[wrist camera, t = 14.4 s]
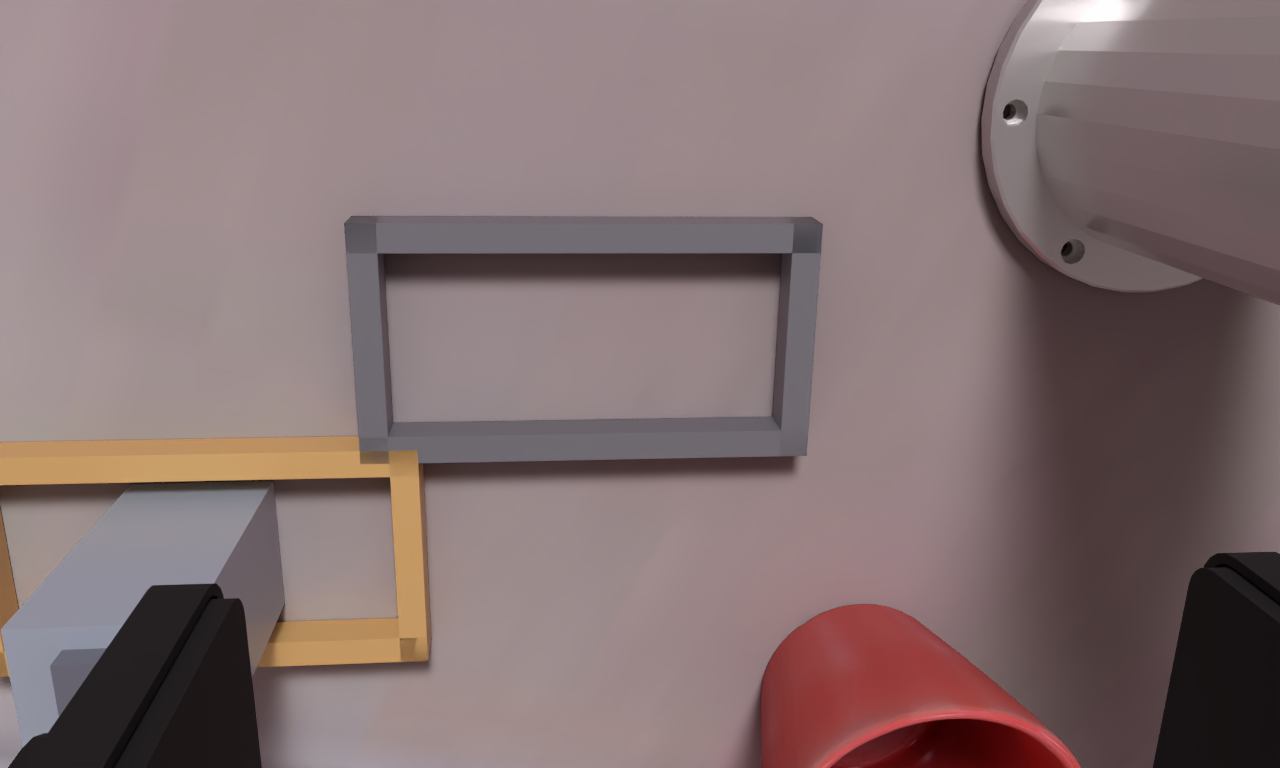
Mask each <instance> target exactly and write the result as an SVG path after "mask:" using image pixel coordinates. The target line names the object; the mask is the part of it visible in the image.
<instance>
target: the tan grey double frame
mask: <svg viewBox="0 0 1280 768" xmlns="http://www.w3.org/2000/svg"><path fill="white" fill-rule="evenodd" d="M344 227H345V241H346V256H347V271H348V286H349V301H350V316H351V331H352V346H353V361H354V376H355V391H356V406H357V421H358V435H359V436H345V437H287V438H228V439H170V440H112V441H53V442H0V485H34V484H82V483H130V482H178V481H226V480H274V479H322V478H370V477H390V483H391V500H392V517H393V534H394V552H395V569H396V586H397V603H398V618H383V619H354V620H324V621H294V622H276V624H275V627H274V629H273V631H272V634H271V636H270V638H269V641H268V643H267V645H266V647H265V650H264V652H263V654H262V657H261V659H260V661H259V664H258V666H257V667H278V666H305V665H332V664H358V663H385V662H412V661H428V657H429V651H430V645H431V620H430V599H429V578H428V557H427V536H426V515H425V494H424V473H423V463H464V462H514V461H565V460H616V459H667V458H718V457H769V456H806V455H807V441H808V427H809V412H810V398H811V384H812V370H813V356H814V342H815V327H816V313H817V299H818V285H819V271H820V256H821V242H822V228H823V224H822V223H820V222H819V221H817V220H815V219H814V218H812V217H534V216H351V217H350V218H349V219H348V220H347V221H346V222H345V223H344ZM384 253H782V262H781V279H780V296H779V313H778V330H777V347H776V364H775V380H774V397H773V414H772V417H723V418H661V419H598V420H535V421H472V422H410V423H393V412H392V394H391V376H390V359H389V341H388V323H387V305H386V287H385V270H384ZM18 610H19V609H18V603H17V598H16V592H15V586H14V581H13V575H12V570H11V564H10V559H9V553H8V548H7V542H6V537H5V531H4V526H3V520H2V514H1V509H0V677H10V676H9V671H8V666H7V660H6V655H5V650H4V645H3V639H2V634H1V629H2V627H3V626H4V625H5V624H6V623H7V622H8V621H9V620H10V618H11V617H12V616H13V615H14V614H15V613H16V612H17V611H18Z"/></svg>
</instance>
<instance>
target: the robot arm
mask: <svg viewBox="0 0 1280 768" xmlns="http://www.w3.org/2000/svg"><path fill="white" fill-rule="evenodd" d="M1007 104H1008V105H1009V106H1010V109H1011V112H1010V114H1009V116H1008V117H1007V118H1005V119H1004V118H1003V111H1004V108H1005V106H1006V105H1007ZM981 126H982V156H983V161H984V166H985V170H986V175H987V180H988V184H989V188H990V190H991V193H992V195H993V197H994V200H995V202H996V204H997V207H998V209H999V211H1000V213H1001V216H1002V217H1003V219H1004V220H1005V222H1006V223H1007V224H1008V226H1009V227H1010V229H1011V230H1012V232H1013V233H1014V234H1015V236H1016V237H1017V239H1018V240H1019V241H1020V242H1021V243H1022V244H1023V245H1024V246H1025V247H1026V248H1027V249H1028V250H1030V251H1031V252H1032V253H1033V254H1034V255H1035V256H1036V257H1037V258H1038V259H1039V260H1041V261H1042V262H1043V263H1045V264H1047V265H1049V266H1050V267H1052V268H1054V269H1056V270H1057V271H1059V272H1061V273H1063V274H1064V275H1066V276H1068V277H1071V278H1073V279H1076V280H1078V281H1081V282H1083V283H1086V284H1088V285H1091V286H1093V287H1098V288H1103V289H1108V290H1113V291H1118V292H1157V291H1162V290H1167V289H1172V288H1177V287H1182V286H1186V285H1189V284H1191V283H1194V282H1197V281H1199V280H1202V279H1207V280H1210V281H1213V282H1215V283H1218V284H1221V285H1224V286H1227V287H1229V288H1232V289H1235V290H1238V291H1241V292H1243V293H1246V294H1249V295H1252V296H1254V297H1257V298H1260V299H1263V300H1266V301H1268V302H1271V303H1274V304H1277V305H1280V0H1029V1H1028V2H1027V3H1026V5H1025V6H1024V7H1023V8H1022V10H1021V11H1020V12H1019V14H1018V15H1017V16H1016V18H1015V20H1014V22H1013V24H1012V26H1011V28H1010V29H1009V31H1008V33H1007V35H1006V37H1005V39H1004V41H1003V42H1002V44H1001V46H1000V48H999V50H998V53H997V56H996V59H995V62H994V65H993V68H992V71H991V74H990V77H989V80H988V83H987V87H986V94H985V100H984V106H983V113H982V119H981ZM1065 243H1067V248H1066V250H1065V251H1064V252H1063V253H1061V250H1062V248H1063V245H1064V244H1065ZM8 768H261V758H260V749H259V740H258V730H257V721H256V712H255V703H254V693H253V684H252V675H251V665H250V656H249V647H248V638H247V628H246V619H245V612H244V607H243V604H242V601H241V600H240V599H239V598H229V599H224V596H223V593H222V590H221V588H220V587H219V585H218V584H217V583H213V584H179V585H153V586H151V587H150V588H149V589H148V590H147V591H146V593H145V594H144V595H143V597H142V598H141V600H140V601H139V603H138V604H137V606H136V607H135V608H134V610H133V611H132V613H131V614H130V616H129V617H128V618H127V620H126V621H125V623H124V624H123V626H122V627H121V629H120V630H119V631H118V633H117V634H116V636H115V637H114V639H113V640H112V642H111V643H110V644H109V646H108V647H107V649H106V650H105V652H104V653H103V654H102V656H101V657H100V659H99V660H98V662H97V663H96V665H95V666H94V667H93V669H92V670H91V672H90V673H89V675H88V676H87V677H86V679H85V680H84V682H83V683H82V685H81V686H80V688H79V689H78V690H77V692H76V693H75V695H74V696H73V698H72V699H71V700H70V702H69V703H68V705H67V706H66V708H65V709H64V711H63V712H62V713H61V715H60V716H59V718H58V719H57V721H56V722H55V723H54V725H53V726H52V728H51V729H50V731H49V732H48V733H43V734H40V735H37V736H35V737H33V738H32V739H31V740H30V741H29V742H28V743H27V744H26V745H25V746H24V747H23V748H22V749H21V751H20V752H19V753H18V755H17V756H16V757H15V759H14V760H13V762H12V763H11V764H10V766H9V767H8ZM1153 768H1280V554H1278V553H1276V552H1250V553H1217V554H1215V555H1214V556H1212V557H1210V558H1209V560H1208V561H1207V562H1206V564H1205V565H1204V568H1200V569H1198V570H1197V571H1195V572H1194V574H1193V575H1192V577H1191V579H1190V583H1189V586H1188V591H1187V596H1186V602H1185V607H1184V612H1183V617H1182V622H1181V627H1180V632H1179V637H1178V642H1177V647H1176V653H1175V658H1174V663H1173V668H1172V673H1171V678H1170V683H1169V688H1168V693H1167V699H1166V704H1165V709H1164V714H1163V719H1162V724H1161V729H1160V734H1159V739H1158V744H1157V750H1156V755H1155V760H1154V765H1153Z"/></svg>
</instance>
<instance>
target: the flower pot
mask: <svg viewBox="0 0 1280 768" xmlns="http://www.w3.org/2000/svg"><path fill="white" fill-rule="evenodd" d="M761 727H762V768H1081V766H1080V764H1079V763H1078V761H1077V760H1076V758H1075V757H1074V755H1073V754H1072V752H1071V751H1070V750H1069V749H1068V748H1067V746H1066V745H1065V744H1064V743H1063V742H1062V741H1061V740H1060V739H1059V738H1058V737H1057V736H1056V735H1055V734H1054V733H1052V732H1051V731H1050V730H1049V729H1048V728H1047V727H1046V726H1045V725H1044V724H1043V723H1041V722H1040V721H1039V720H1038V719H1037V718H1036V717H1035V716H1034V715H1033V714H1032V713H1030V712H1029V711H1028V710H1027V709H1026V708H1025V707H1023V706H1022V705H1021V704H1020V703H1019V702H1017V701H1016V700H1015V699H1014V698H1013V697H1012V696H1010V695H1009V694H1008V693H1007V692H1006V691H1004V690H1003V689H1002V688H1001V687H1000V686H998V685H997V684H996V683H995V682H994V681H993V680H991V679H990V678H989V677H988V676H987V675H985V674H984V673H983V672H982V671H980V670H979V669H978V668H977V667H976V666H974V665H973V664H972V663H971V662H970V661H968V660H967V659H966V658H965V657H963V656H962V655H961V654H960V653H958V652H957V651H956V650H955V649H953V648H952V647H951V646H949V645H948V644H947V643H946V642H944V641H943V640H942V639H941V638H939V637H938V636H937V635H935V634H934V633H933V632H931V631H930V630H929V629H927V628H926V627H925V626H924V625H922V624H921V623H920V622H919V621H917V620H916V619H914V618H913V617H911V616H909V615H907V614H905V613H903V612H901V611H898V610H896V609H893V608H889V607H885V606H880V605H873V604H858V605H847V606H842V607H838V608H834V609H831V610H828V611H826V612H823V613H821V614H819V615H817V616H815V617H813V618H812V619H811V620H809V621H808V622H807V623H805V624H803V625H801V626H799V627H798V628H797V629H795V630H794V631H793V632H792V633H790V635H789V636H788V637H787V638H786V639H785V640H784V641H783V642H782V643H781V644H780V646H779V647H778V648H777V650H776V651H775V653H774V655H773V656H772V658H771V660H770V662H769V664H768V666H767V669H766V671H765V675H764V678H763V684H762V692H761Z"/></svg>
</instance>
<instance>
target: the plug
mask: <svg viewBox="0 0 1280 768" xmlns="http://www.w3.org/2000/svg"><path fill="white" fill-rule="evenodd" d="M213 583H217V584H218V585H219V587H220V588H221V590H222V593H223V596H224V599H229V598H239V599H240V600H241V601H242V604H243V607H244V612H245V619H246V628H247V638H248V647H249V656H250V665H251V675H252V677H253V675H254V673H255V670H256V668H257V666H258V664H259V661H260V659H261V657H262V654H263V652H264V650H265V647H266V645H267V643H268V641H269V638H270V636H271V634H272V631H273V629H274V627H275V624H276V622H277V620H278V618H279V615H280V613H281V611H282V608H283V606H284V604H285V598H284V588H283V577H282V567H281V556H280V546H279V536H278V525H277V515H276V505H275V494H274V484H273V481H256V482H212V483H168V484H131V485H130V486H129V487H128V488H127V489H126V490H125V491H124V492H123V494H122V495H121V496H120V497H119V498H118V499H117V500H116V501H115V502H114V504H113V505H112V506H111V507H110V508H109V509H108V510H107V511H106V513H105V514H104V515H103V516H102V517H101V518H100V519H99V520H98V521H97V523H96V524H95V525H94V526H93V527H92V528H91V529H90V530H89V531H88V533H87V534H86V535H85V536H84V537H83V538H82V539H81V540H80V542H79V543H78V544H77V545H76V546H75V547H74V548H73V549H72V550H71V552H70V553H69V554H68V555H67V556H66V557H65V558H64V559H63V560H62V562H61V563H60V564H59V565H58V566H57V567H56V568H55V569H54V571H53V572H52V573H51V574H50V575H49V576H48V577H47V578H46V579H45V581H44V582H43V583H42V584H41V585H40V586H39V587H38V588H37V589H36V591H35V592H34V593H33V594H32V595H31V596H30V597H29V598H28V600H27V601H26V602H25V603H24V604H23V605H22V606H21V607H20V608H19V610H18V611H17V612H16V613H15V614H14V615H13V616H12V617H11V618H10V620H9V621H8V622H7V623H6V624H5V625H4V626H3V627H2V629H1V634H2V639H3V645H4V650H5V655H6V660H7V666H8V671H9V676H10V682H11V687H12V692H13V697H14V703H15V708H16V713H17V718H18V724H19V729H20V734H21V740H22V745H23V747H24V746H25V745H26V744H27V743H28V742H29V741H30V740H31V739H32V738H33V737H35V736H37V735H40V734H43V733H48V732H49V731H50V729H51V728H52V726H53V725H54V723H55V722H56V721H57V719H58V718H59V716H60V715H61V713H62V712H63V711H64V709H65V708H66V706H67V705H68V703H69V702H70V700H71V699H72V698H73V696H74V695H75V693H76V692H77V690H78V689H79V688H80V686H81V685H82V683H83V682H84V680H85V679H86V677H87V676H88V675H89V673H90V672H91V670H92V669H93V667H94V666H95V665H96V663H97V662H98V660H99V659H100V657H101V656H102V654H103V653H104V652H105V650H106V649H107V647H108V646H109V644H110V643H111V642H112V640H113V639H114V637H115V636H116V634H117V633H118V631H119V630H120V629H121V627H122V626H123V624H124V623H125V621H126V620H127V618H128V617H129V616H130V614H131V613H132V611H133V610H134V608H135V607H136V606H137V604H138V603H139V601H140V600H141V598H142V597H143V595H144V594H145V593H146V591H147V590H148V589H149V588H150V587H151V586H153V585H179V584H213Z"/></svg>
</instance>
